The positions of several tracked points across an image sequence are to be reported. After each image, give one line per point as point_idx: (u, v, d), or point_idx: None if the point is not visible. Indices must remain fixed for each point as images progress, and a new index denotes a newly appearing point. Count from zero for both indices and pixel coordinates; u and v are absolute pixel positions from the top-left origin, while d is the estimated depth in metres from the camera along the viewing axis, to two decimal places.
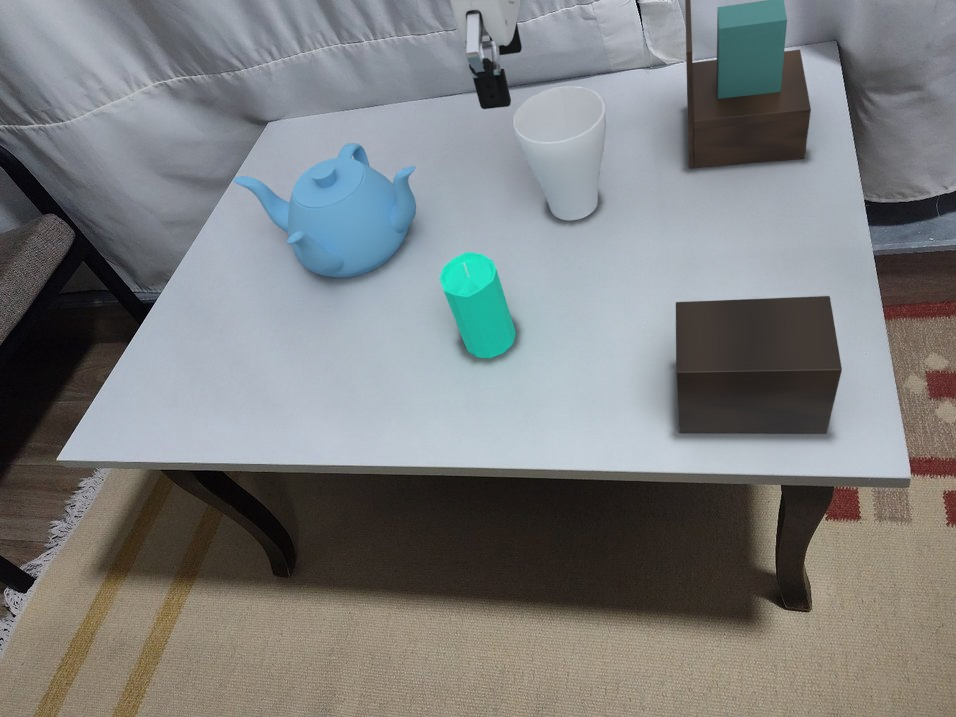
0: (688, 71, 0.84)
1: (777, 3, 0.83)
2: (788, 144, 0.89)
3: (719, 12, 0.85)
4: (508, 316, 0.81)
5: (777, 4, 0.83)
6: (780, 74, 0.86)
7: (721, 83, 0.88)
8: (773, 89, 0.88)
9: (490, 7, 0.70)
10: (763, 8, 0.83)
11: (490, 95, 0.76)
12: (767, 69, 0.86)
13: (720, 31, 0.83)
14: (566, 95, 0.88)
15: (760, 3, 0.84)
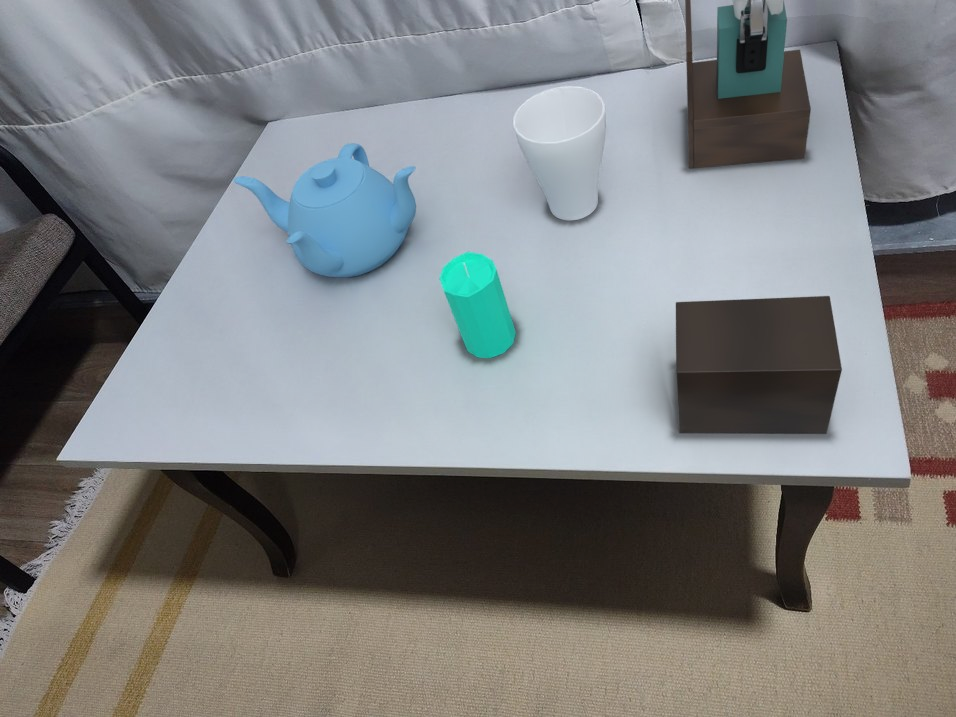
0: (688, 71, 0.84)
1: None
2: (788, 144, 0.89)
3: (719, 12, 0.85)
4: (508, 316, 0.81)
5: None
6: (780, 74, 0.86)
7: (721, 83, 0.88)
8: (773, 89, 0.88)
9: None
10: None
11: (751, 60, 0.84)
12: (767, 69, 0.86)
13: (720, 31, 0.83)
14: (566, 95, 0.88)
15: None
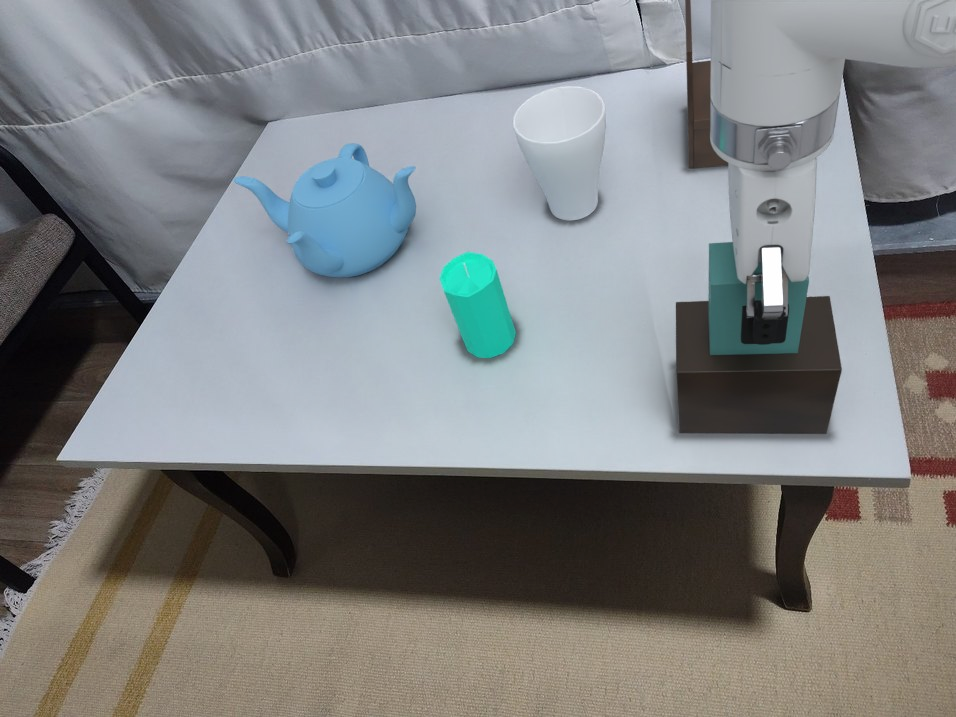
0: (688, 71, 0.84)
1: None
2: None
3: (711, 253, 0.60)
4: (508, 316, 0.81)
5: None
6: (798, 335, 0.61)
7: (714, 340, 0.63)
8: (787, 350, 0.63)
9: (799, 242, 0.50)
10: None
11: (763, 334, 0.56)
12: None
13: (712, 287, 0.58)
14: (566, 95, 0.88)
15: None
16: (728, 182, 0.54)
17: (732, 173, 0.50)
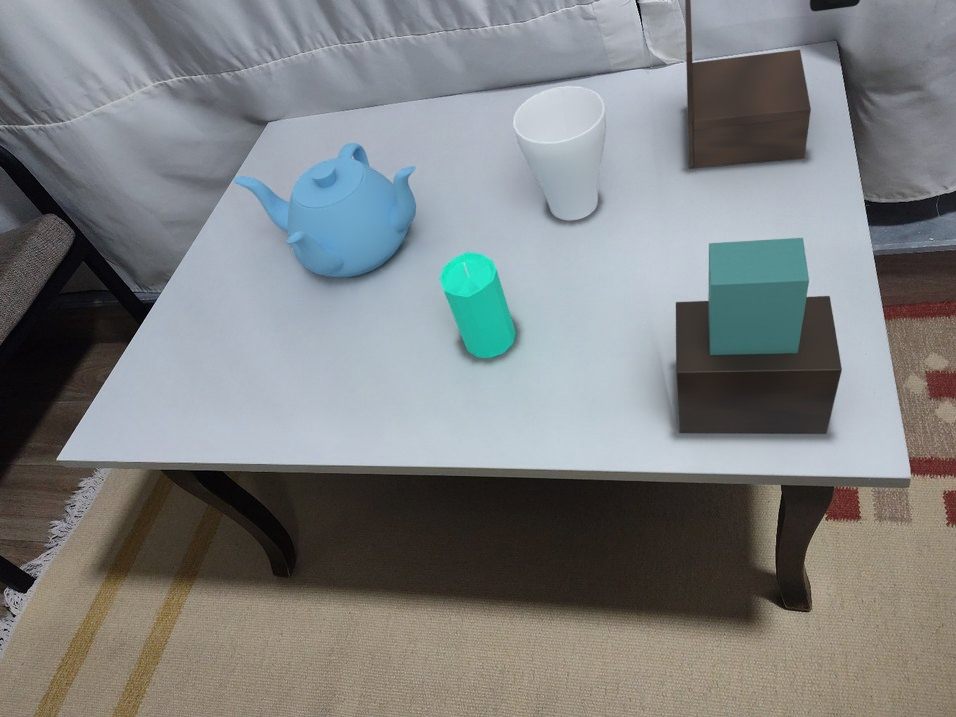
0: (688, 71, 0.84)
1: (794, 247, 0.58)
2: (788, 144, 0.89)
3: (711, 253, 0.60)
4: (508, 316, 0.81)
5: (794, 249, 0.58)
6: (798, 335, 0.61)
7: (714, 340, 0.63)
8: (787, 350, 0.63)
9: None
10: (775, 255, 0.58)
11: None
12: (779, 330, 0.61)
13: (712, 287, 0.58)
14: (566, 95, 0.88)
15: (770, 244, 0.59)
16: None
17: None
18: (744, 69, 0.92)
